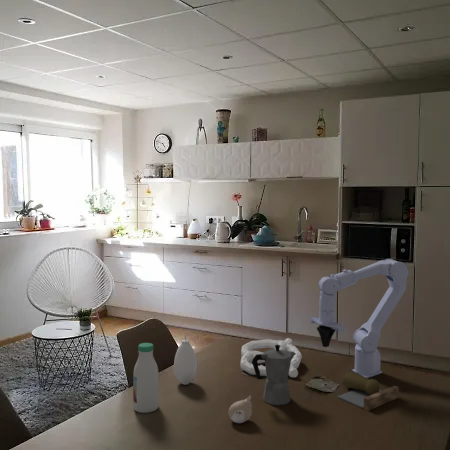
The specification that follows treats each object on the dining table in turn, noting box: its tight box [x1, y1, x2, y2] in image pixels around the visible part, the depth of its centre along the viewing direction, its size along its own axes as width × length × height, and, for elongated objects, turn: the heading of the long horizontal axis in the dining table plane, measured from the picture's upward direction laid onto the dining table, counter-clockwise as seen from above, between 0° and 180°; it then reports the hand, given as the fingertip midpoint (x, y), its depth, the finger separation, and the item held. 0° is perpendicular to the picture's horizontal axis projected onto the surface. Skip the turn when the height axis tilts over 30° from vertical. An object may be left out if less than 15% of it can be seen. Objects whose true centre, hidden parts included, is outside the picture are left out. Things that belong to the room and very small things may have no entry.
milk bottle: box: [132, 342, 160, 414], centre depth 147 cm, size 8×8×20 cm
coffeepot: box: [252, 345, 296, 406], centre depth 154 cm, size 15×9×18 cm, turn 110°
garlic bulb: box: [227, 394, 253, 424], centre depth 139 cm, size 7×6×8 cm
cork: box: [343, 369, 381, 395], centre depth 160 cm, size 6×6×11 cm
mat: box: [337, 389, 382, 409], centre depth 157 cm, size 16×10×1 cm, turn 127°
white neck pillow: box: [239, 337, 303, 379], centre depth 186 cm, size 28×24×6 cm
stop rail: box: [363, 385, 400, 412], centre depth 152 cm, size 16×2×4 cm, turn 127°
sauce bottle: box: [173, 333, 198, 386], centre depth 167 cm, size 8×8×18 cm
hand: (325, 346), depth 176 cm, fingers closed
